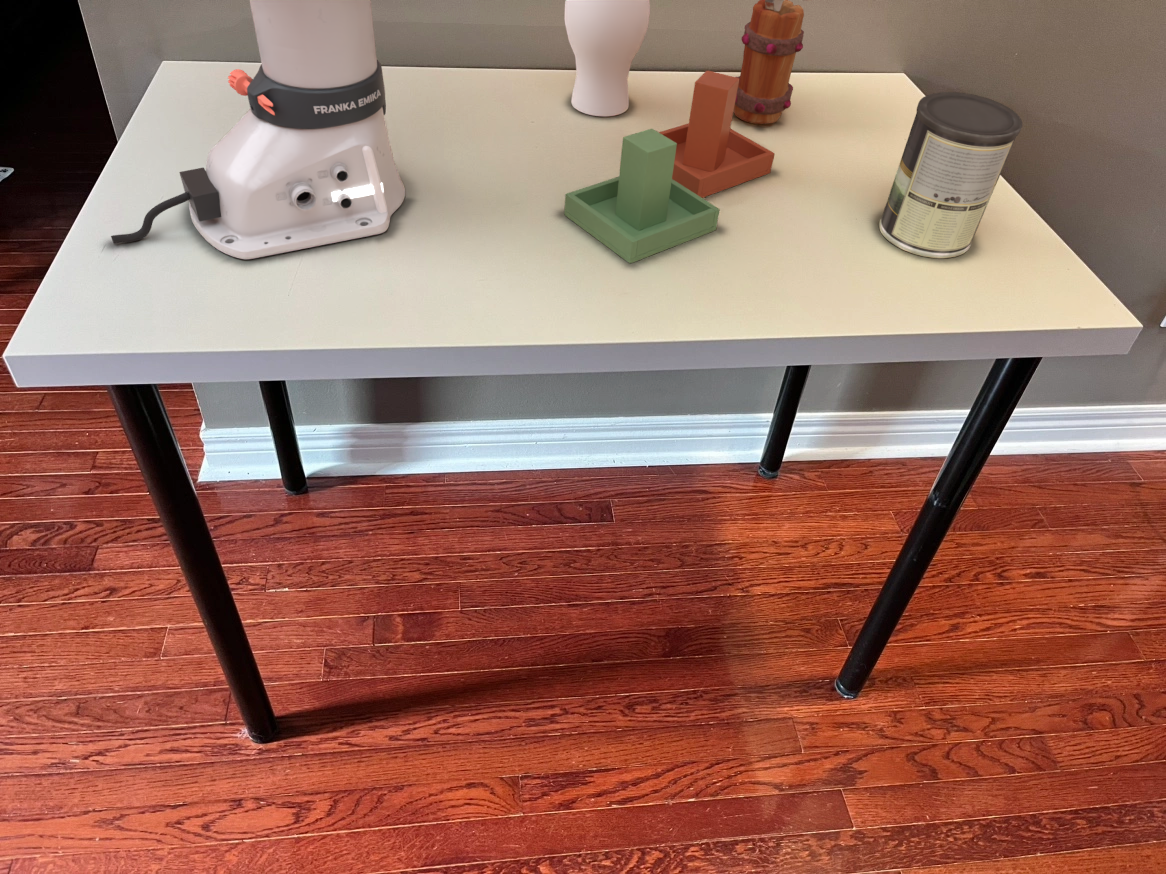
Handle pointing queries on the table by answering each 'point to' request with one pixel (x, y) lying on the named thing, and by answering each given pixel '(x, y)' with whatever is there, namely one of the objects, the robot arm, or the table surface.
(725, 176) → the terracotta tray
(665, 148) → the green block
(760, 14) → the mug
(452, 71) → the table surface
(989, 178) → the coffee can
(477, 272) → the table surface
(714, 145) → the terracotta block
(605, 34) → the white vase
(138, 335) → the table surface
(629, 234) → the green tray
